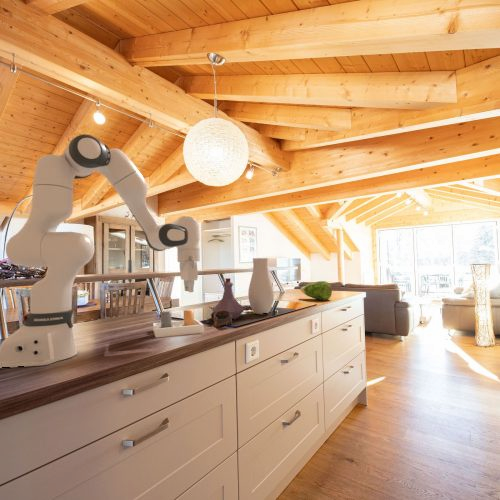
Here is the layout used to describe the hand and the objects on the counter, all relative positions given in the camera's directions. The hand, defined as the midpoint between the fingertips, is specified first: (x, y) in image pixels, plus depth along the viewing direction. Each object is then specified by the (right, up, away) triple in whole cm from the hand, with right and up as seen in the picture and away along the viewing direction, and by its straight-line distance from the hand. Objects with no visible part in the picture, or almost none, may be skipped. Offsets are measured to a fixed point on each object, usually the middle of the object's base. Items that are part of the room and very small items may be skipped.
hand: (188, 291), depth 131 cm
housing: (-4, -17, -1) cm, 17 cm away
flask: (+14, -18, +33) cm, 40 cm away
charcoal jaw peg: (-8, -16, -3) cm, 18 cm away
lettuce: (+71, -19, +102) cm, 126 cm away
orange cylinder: (0, -16, 0) cm, 16 cm away
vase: (+31, -18, +45) cm, 57 cm away
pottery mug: (+12, -17, +14) cm, 25 cm away
